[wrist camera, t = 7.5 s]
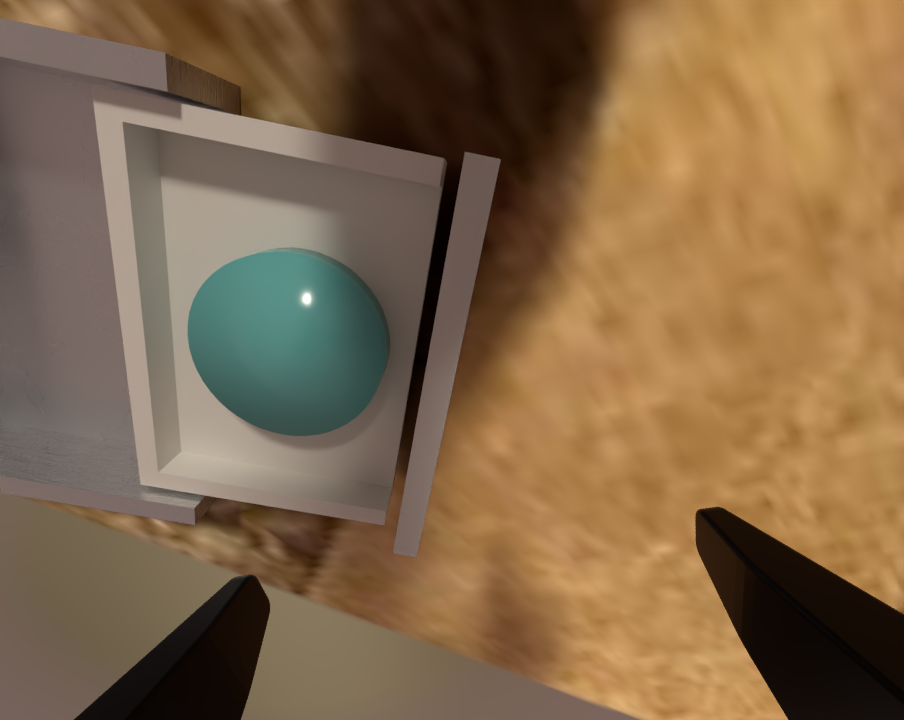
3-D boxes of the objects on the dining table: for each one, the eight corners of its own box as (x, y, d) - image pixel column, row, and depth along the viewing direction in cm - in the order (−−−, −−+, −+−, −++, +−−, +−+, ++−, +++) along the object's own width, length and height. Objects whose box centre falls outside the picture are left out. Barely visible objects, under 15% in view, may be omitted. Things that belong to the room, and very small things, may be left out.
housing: (239, 86, 15) (164, 52, 11) (242, 466, 21) (195, 525, 18) (-109, 13, 14) (-308, -48, 11) (0, 425, 21) (-101, 476, 17)
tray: (491, 166, 15) (501, 159, 11) (426, 486, 21) (416, 557, 17) (164, 99, 15) (51, 65, 11) (187, 445, 21) (119, 508, 17)
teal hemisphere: (209, 230, 15) (181, 234, 14) (401, 266, 15) (394, 275, 14) (215, 399, 18) (192, 419, 16) (379, 428, 18) (371, 449, 16)
